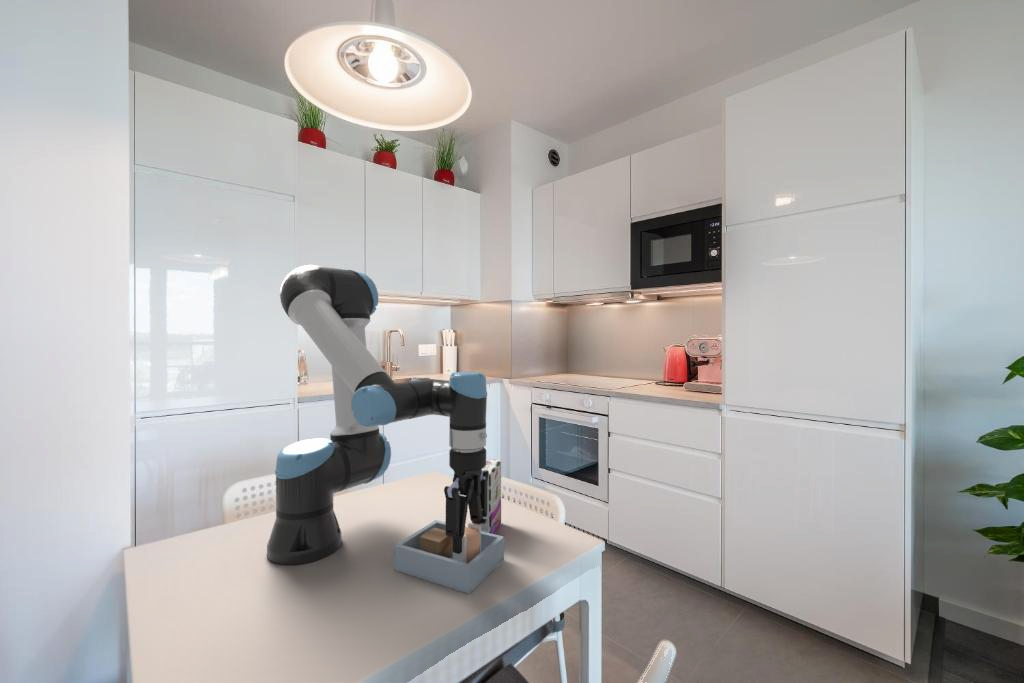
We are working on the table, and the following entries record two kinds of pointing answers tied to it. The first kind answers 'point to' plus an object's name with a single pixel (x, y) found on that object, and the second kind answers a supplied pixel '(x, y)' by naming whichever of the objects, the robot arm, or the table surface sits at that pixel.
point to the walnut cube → (437, 543)
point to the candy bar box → (493, 496)
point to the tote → (448, 561)
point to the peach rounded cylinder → (472, 543)
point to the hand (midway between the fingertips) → (467, 560)
